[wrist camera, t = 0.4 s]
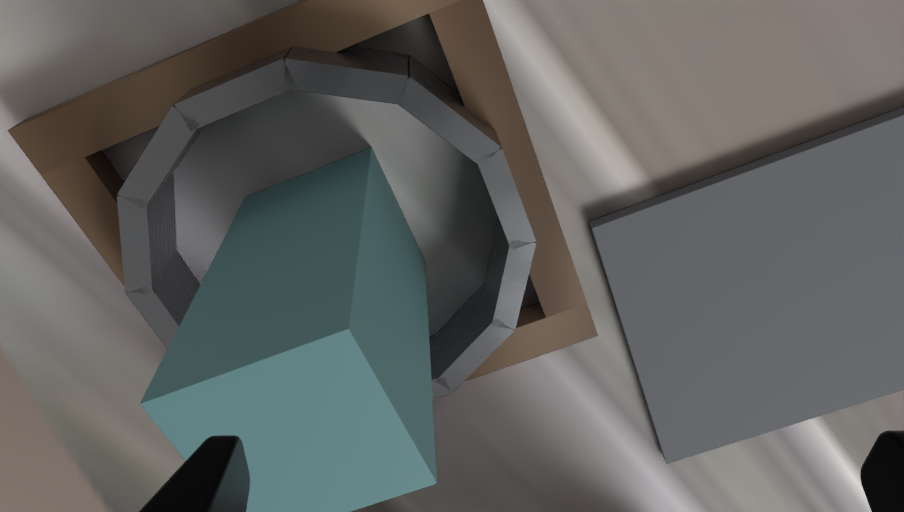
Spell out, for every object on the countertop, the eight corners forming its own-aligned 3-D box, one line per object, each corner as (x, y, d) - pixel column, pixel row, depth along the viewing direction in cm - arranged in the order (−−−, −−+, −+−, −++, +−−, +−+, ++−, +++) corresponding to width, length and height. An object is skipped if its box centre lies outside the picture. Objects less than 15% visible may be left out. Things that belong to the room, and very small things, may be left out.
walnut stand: (255, 436, 27) (250, 454, 26) (24, 119, 20) (7, 130, 19) (591, 320, 25) (598, 335, 24) (457, -68, 19) (460, -65, 18)
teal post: (308, 303, 24) (253, 542, 15) (245, 197, 22) (139, 404, 13) (425, 260, 24) (436, 483, 15) (371, 147, 21) (348, 328, 13)
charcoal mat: (662, 454, 29) (666, 464, 28) (588, 221, 23) (592, 228, 23) (949, 364, 27) (959, 372, 27) (946, 91, 22) (956, 95, 21)
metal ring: (264, 413, 26) (251, 461, 24) (69, 135, 21) (29, 165, 18) (561, 309, 25) (576, 350, 23) (439, -22, 19) (444, -10, 17)
